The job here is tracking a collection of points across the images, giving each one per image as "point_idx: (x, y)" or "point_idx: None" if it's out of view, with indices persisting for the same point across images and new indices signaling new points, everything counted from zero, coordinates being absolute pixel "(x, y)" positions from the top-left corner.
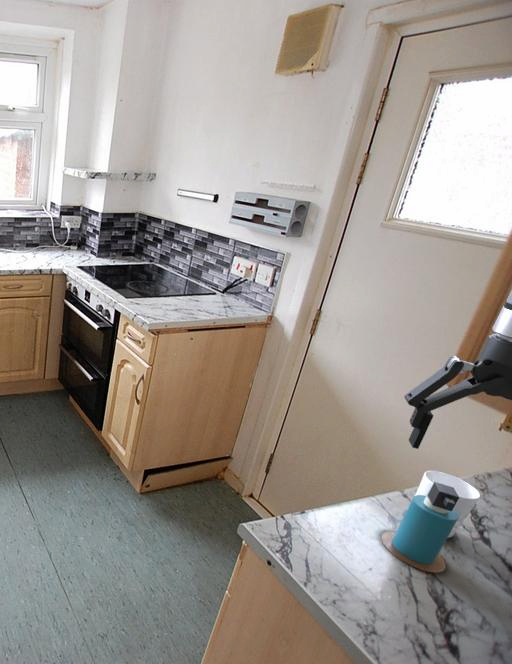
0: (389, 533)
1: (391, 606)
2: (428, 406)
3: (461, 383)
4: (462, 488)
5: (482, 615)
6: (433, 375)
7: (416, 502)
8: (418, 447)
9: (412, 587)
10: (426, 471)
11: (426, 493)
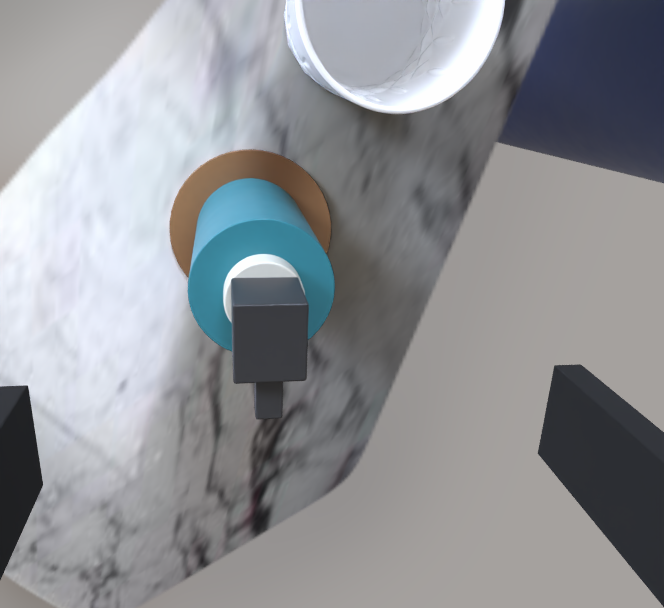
0: (197, 178)
1: (158, 483)
2: None
3: None
4: None
5: (356, 385)
6: None
7: (195, 303)
8: (38, 492)
9: (219, 389)
10: None
11: (301, 54)
